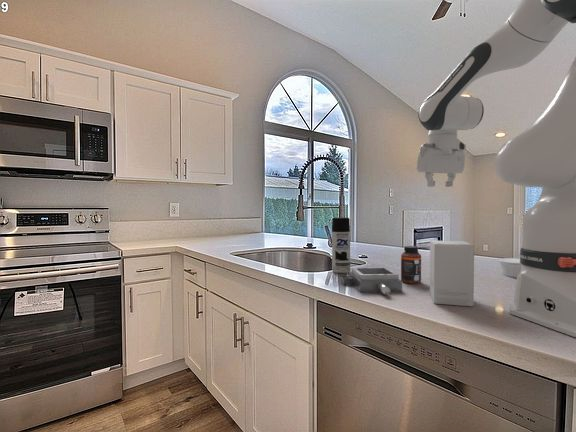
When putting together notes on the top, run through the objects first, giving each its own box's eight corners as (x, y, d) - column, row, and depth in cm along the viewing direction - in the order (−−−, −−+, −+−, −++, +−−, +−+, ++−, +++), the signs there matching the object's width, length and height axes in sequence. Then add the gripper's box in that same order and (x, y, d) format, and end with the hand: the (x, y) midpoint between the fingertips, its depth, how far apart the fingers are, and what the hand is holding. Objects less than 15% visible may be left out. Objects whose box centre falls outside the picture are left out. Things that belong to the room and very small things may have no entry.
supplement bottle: (422, 284, 98) (423, 247, 98) (402, 284, 99) (402, 247, 99) (419, 280, 104) (419, 245, 104) (399, 279, 105) (399, 245, 105)
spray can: (333, 273, 115) (333, 218, 114) (330, 270, 122) (330, 217, 121) (352, 273, 115) (352, 217, 114) (348, 269, 122) (348, 217, 121)
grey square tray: (409, 296, 86) (409, 279, 85) (353, 297, 85) (353, 280, 85) (385, 280, 105) (385, 266, 104) (340, 280, 104) (340, 267, 104)
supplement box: (474, 307, 76) (475, 244, 76) (433, 304, 79) (433, 243, 78) (466, 297, 85) (466, 240, 84) (429, 294, 87) (429, 239, 87)
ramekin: (495, 276, 110) (495, 260, 110) (503, 271, 117) (503, 256, 117) (536, 281, 102) (536, 264, 101) (542, 275, 109) (542, 260, 109)
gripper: (429, 141, 98) (428, 186, 99) (469, 145, 108) (467, 186, 109) (412, 143, 104) (411, 186, 105) (451, 147, 114) (450, 186, 115)
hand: (440, 186), depth 107 cm, fingers open, 8 cm apart
